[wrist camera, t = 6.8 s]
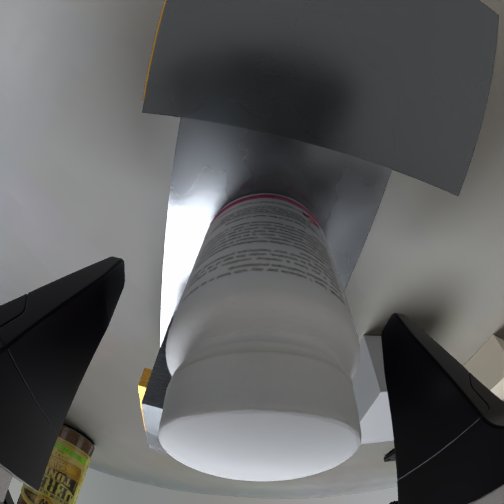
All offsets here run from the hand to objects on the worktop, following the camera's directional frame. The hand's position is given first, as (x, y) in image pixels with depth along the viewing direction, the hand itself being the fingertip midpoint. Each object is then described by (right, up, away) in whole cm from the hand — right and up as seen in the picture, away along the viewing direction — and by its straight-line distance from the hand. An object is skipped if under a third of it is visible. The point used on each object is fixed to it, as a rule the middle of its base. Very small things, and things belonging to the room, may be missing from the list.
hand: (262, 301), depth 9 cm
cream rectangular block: (+17, -7, +8) cm, 20 cm away
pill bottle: (0, +2, +3) cm, 4 cm away
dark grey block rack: (0, +2, +3) cm, 4 cm away
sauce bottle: (-22, -20, +17) cm, 34 cm away
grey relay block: (+8, -6, +8) cm, 12 cm away
